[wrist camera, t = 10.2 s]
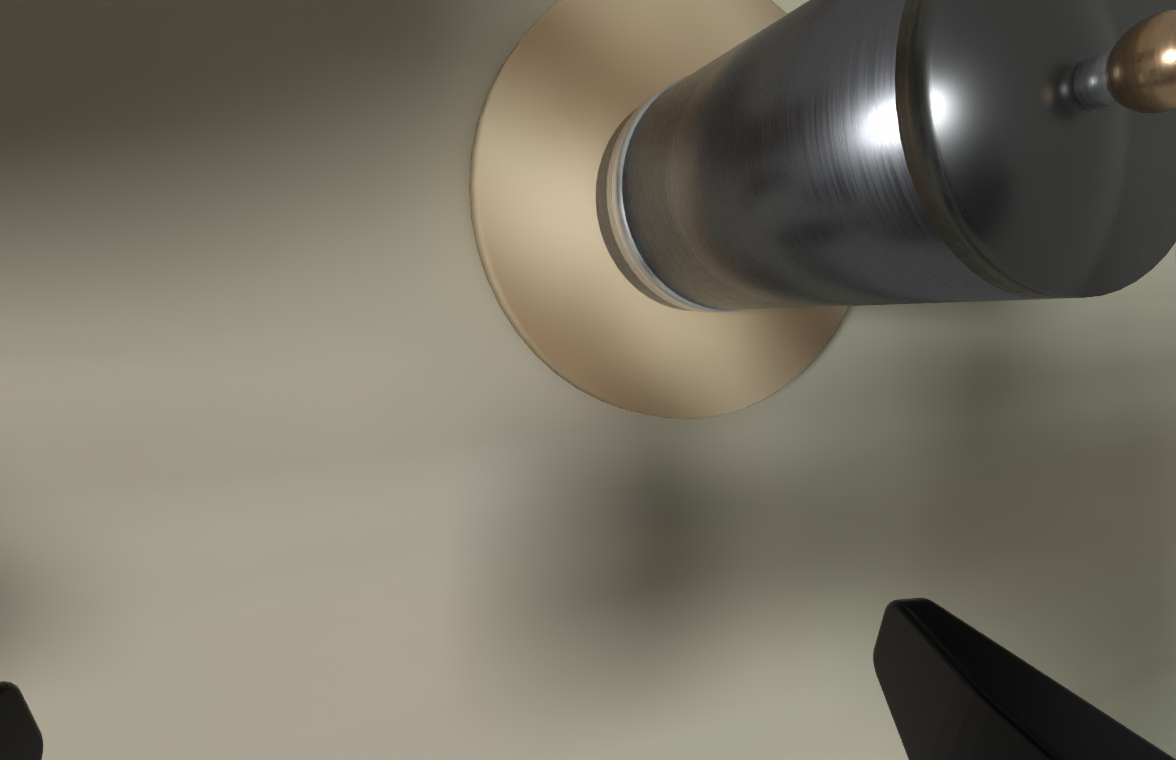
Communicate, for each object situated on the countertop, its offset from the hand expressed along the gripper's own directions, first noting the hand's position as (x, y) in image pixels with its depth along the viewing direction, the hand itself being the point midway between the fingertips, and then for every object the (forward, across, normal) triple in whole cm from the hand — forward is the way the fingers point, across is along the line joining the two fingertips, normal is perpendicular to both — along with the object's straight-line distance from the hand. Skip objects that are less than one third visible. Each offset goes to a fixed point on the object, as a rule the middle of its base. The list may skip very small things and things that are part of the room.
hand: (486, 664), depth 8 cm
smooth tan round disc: (+15, -6, -1) cm, 16 cm away
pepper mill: (+14, -6, -1) cm, 15 cm away
